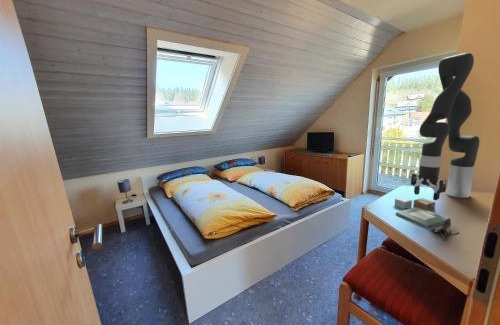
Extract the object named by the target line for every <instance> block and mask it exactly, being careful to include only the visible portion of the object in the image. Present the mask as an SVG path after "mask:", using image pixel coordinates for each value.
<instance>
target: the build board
mask: <svg viewBox="0 0 500 325" xmlns="http://www.w3.org/2000/svg"><path fill="white" fill-rule="evenodd" d="M395 216H399V217H401V218H403V219H405V220H408V221H410V222H412V223H415V224H417V225H419V226H421V227H424V228H426V229H431V228H432V227H433V228H434V227H436V226H440V225H443V223H444V222H445V221H446V220H447V219H450V220H451V218H449V217H446V216H443V215H441V214H438V213H435V212H433V211H428V210H425V209H422V208H419V207H415V208H414V207H411V208H407V209H402V210H399V211H396V212H395Z"/></svg>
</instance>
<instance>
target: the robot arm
mask: <svg viewBox="0 0 500 325" xmlns="http://www.w3.org/2000/svg"><path fill="white" fill-rule="evenodd" d="M474 62H475V58H474V55H473V54H472V53H471V52H463V53H460V54H459V53H458V54H455V55H451V56H447V57H443V58H441V60H440V61H439V63H438V68H437V69H438V76H439V79H440V83H441V84H440V85H441V87H442V92H440V93H439V94H438V95H437V97H436V98H435V100H434V101H433V104H432V107H431V110H430V113H429V114H428V115H427V117H426V118H425V119H424V121H423V122H422V123H421V125H420V127H419V130H418V132H419V135H420V136H421V137H423V138H431V139H432V138H435V139H434V141H433V142H432V141H431V142H425V143H423V144H422V146H421V147H422V148H421V156H420V159H419V168H418V169H419V170H418V173H412V174H411V179H410V185H411V186H413V187H414V190H413V193H414V195H416V196H417V195H420V190H421V186H427V187H430V188H431V189H432V190H433V196H432V197H433V201H438V200H439V199H440V197H441V194H442V193H446V195H447V196H449V197H453V198H456V199H457V198H459V199H467V198H470V196H471V190H472V185H473V177H474V176H473V175H474V170H475V163H476V161H477V156H478V152H479V147H480V138H479V136H478V135H468V134H467V135H466V134H465V135H463V134H461V133H460V132H461V131H460V130H461V127H462V126H463V125H464V123H465V122H466V121H467V120H468V118H469V117H470V116H471V114H472V111H473V110H472V100H471V98H470V96H469V95H468V94H467V93H466V92H465V91H463V90H462V88H463V86H464V84H465V83H466V81H467V79H468V77H469V75H470V73H471V71H472V70H473V67H474ZM445 119H446V120H447V122H445V121H441V120H445ZM439 121H440V122H439ZM447 138H448V148H449V150H450V151H451V152H454V153H462V154H464V156H462V157H457V158H456V157H455V158H452V159H451V160H450V162H449V163H450V164H449V172H448V179H441V178H440V179H439V175H440V169H441V163H442V158H441V157H442V150H443V146H444V144H445V141H446V140H447ZM418 179H419V180H418ZM447 180H448V181H447Z"/></svg>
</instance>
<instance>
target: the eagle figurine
mask: <svg viewBox="0 0 500 325" xmlns="http://www.w3.org/2000/svg"><path fill="white" fill-rule="evenodd" d="M450 219H451V218H450ZM450 219H447V220H446V221H445V222H444V223H443V224H442V227H433V228H430V229H431V231H432V232H435V233H437V232H439V233H440V234H441V236H442V237H443V238H444V239H443V241H446V240H447V239H449V238H451V237H452V236H457V235H459V234H460V232H459V231H458V232H455V233H453V232H452V230H449V231H448V229H449V227H450V226H451V222H452V221H451V220H450Z"/></svg>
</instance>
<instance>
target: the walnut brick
mask: <svg viewBox="0 0 500 325" xmlns="http://www.w3.org/2000/svg"><path fill="white" fill-rule="evenodd" d="M412 206H413V207H412V208H415V207H419V208H422V209H425V210H428V211H430V212H432V211H433V210H435V208H436V201H434V200H433V201H432V200H431V199H427V198H423V197H422V198H417V199H413V203H412Z"/></svg>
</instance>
